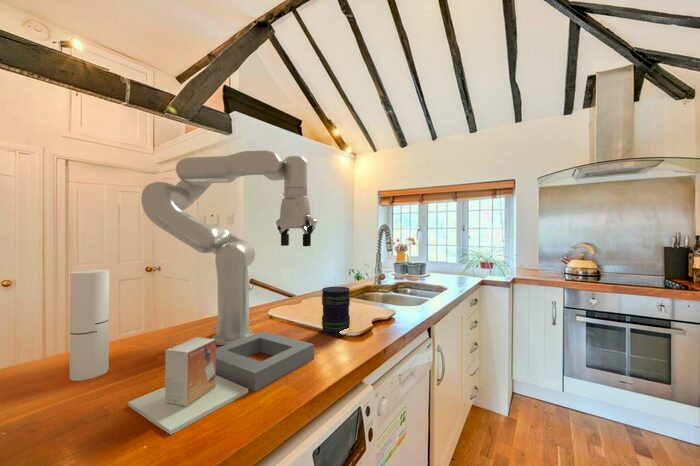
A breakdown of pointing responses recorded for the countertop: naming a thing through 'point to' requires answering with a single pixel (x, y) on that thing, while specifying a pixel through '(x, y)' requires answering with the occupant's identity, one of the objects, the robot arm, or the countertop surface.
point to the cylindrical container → (89, 324)
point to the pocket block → (256, 373)
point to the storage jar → (335, 310)
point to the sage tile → (182, 416)
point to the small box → (190, 370)
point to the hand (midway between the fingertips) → (295, 245)
